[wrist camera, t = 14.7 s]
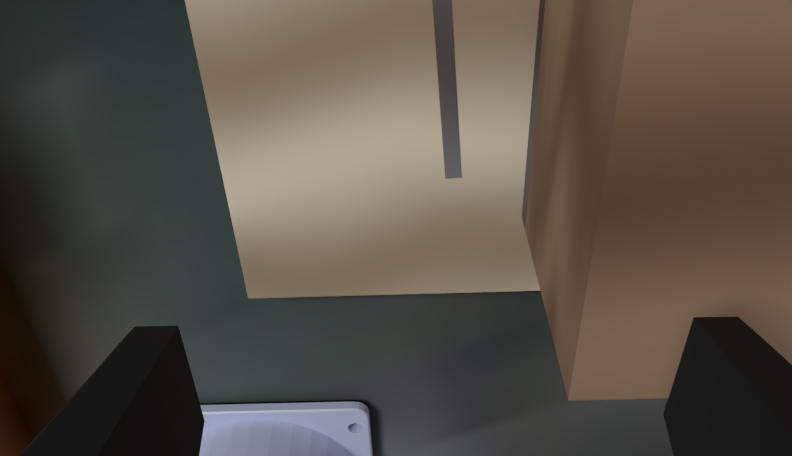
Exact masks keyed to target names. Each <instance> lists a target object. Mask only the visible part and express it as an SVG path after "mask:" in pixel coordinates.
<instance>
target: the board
mask: <svg viewBox="0 0 792 456" xmlns="http://www.w3.org/2000/svg"><path fill="white" fill-rule="evenodd" d="M185 4H186V8H187V13H188V18H189V22H190V27H191V32H192V36H193V41H194V46H195V51H196V55H197V60H198V65H199V69H200V74H201V79H202V83H203V88H204V93H205V97H206V102H207V107H208V112H209V116H210V121H211V126H212V130H213V135H214V140H215V144H216V149H217V154H218V159H219V163H220V168H221V173H222V177H223V182H224V187H225V191H226V196H227V201H228V205H229V210H230V215H231V220H232V224H233V229H234V234H235V238H236V243H237V248H238V252H239V257H240V262H241V266H242V271H243V276H244V281H245V285H246V290H247V295H248V298H281V297H319V296H357V295H395V294H433V293H471V292H509V291H540V287H539V283H538V279H537V275H536V271H535V267H534V263H533V259H532V256H531V252H530V248H529V244H528V240H527V236H526V232H525V228H524V224H523V220H522V207H523V195H524V183H525V171H526V160H527V148H528V136H529V124H530V112H531V100H532V88H533V76H534V64H535V52H536V40H537V28H538V16H539V4H540V0H185Z"/></svg>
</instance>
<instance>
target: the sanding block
mask: <svg viewBox="0 0 792 456" xmlns="http://www.w3.org/2000/svg"><path fill="white" fill-rule="evenodd" d="M522 220H523V224H524V228H525V232H526V236H527V240H528V244H529V248H530V252H531V256H532V259H533V263H534V267H535V271H536V275H537V279H538V283H539V287H540V291H541V295H542V299H543V303H544V307H545V311H546V315H547V319H548V323H549V327H550V331H551V335H552V339H553V342H554V346H555V350H556V354H557V358H558V362H559V366H560V370H561V374H562V378H563V382H564V386H565V390H566V394H567V398H568V401H576V400H615V399H653V398H669V395H670V392H671V388H672V385H673V382H674V379H675V376H676V372H677V369H678V366H679V363H680V360H681V356H682V353H683V350H684V347H685V344H686V340H687V337H688V334H689V331H690V328H691V324H692V321H693V318H694V317H739V318H740V319H741V320H742V321H744V322H745V323H746V324H747V325H748V326H749V327H750V328H752V329H753V330H754V331H755V332H756V333H757V334H758V335H759V336H761V337H762V338H763V339H764V340H765V341H766V342H767V343H768V344H769V345H771V346H772V347H773V348H774V349H775V350H776V351H777V352H778V353H779V354H780V355H782V356H783V357H784V358H785V359H786V360H787V361H788V362H789V363H790V364H791V365H792V0H540V4H539V16H538V28H537V40H536V52H535V64H534V76H533V88H532V100H531V112H530V124H529V136H528V148H527V160H526V171H525V183H524V195H523V207H522Z"/></svg>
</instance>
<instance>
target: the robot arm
mask: <svg viewBox="0 0 792 456" xmlns="http://www.w3.org/2000/svg"><path fill="white" fill-rule="evenodd" d="M664 418H665V422H666V426H667V430H668V434H669V438H670V442H671V446H672V450H673V454H674V456H792V365H791V364H790V363H789V362H788V361H787V360H786V359H785V358H784V357H783V356H782V355H780V354H779V353H778V352H777V351H776V350H775V349H774V348H773V347H772V346H771V345H769V344H768V343H767V342H766V341H765V340H764V339H763V338H762V337H761V336H759V335H758V334H757V333H756V332H755V331H754V330H753V329H752V328H750V327H749V326H748V325H747V324H746V323H745V322H744V321H742V320H741V319H740V318H739V317H694V318H693V321H692V324H691V328H690V331H689V334H688V337H687V340H686V344H685V347H684V350H683V353H682V356H681V360H680V363H679V366H678V369H677V372H676V376H675V379H674V382H673V385H672V388H671V392H670V395H669V398H668V401H667V404H666V408H665V411H664ZM354 423H356V424H354ZM19 456H373V450H372V439H371V427H370V416H369V409H368V407H367V406H366V405H365V404H363V403H361V402H355V401H347V402H305V403H262V404H219V405H200V403H199V399H198V396H197V392H196V388H195V385H194V381H193V378H192V374H191V371H190V367H189V363H188V360H187V356H186V353H185V349H184V345H183V342H182V338H181V335H180V331H179V327H178V326H148V327H134V328H133V329H132V330H131V331H130V332H129V333H128V334H127V336H126V337H125V338H124V339H123V340H122V341H121V342H120V343H119V344H118V346H117V347H116V348H115V349H114V350H113V351H112V352H111V354H110V355H109V356H108V357H107V358H106V359H105V360H104V362H103V363H102V364H101V365H100V366H99V367H98V368H97V370H96V371H95V372H94V373H93V374H92V375H91V376H90V378H89V379H88V380H87V381H86V382H85V383H84V384H83V385H82V387H81V388H80V389H79V390H78V391H77V392H76V393H75V395H74V396H73V397H72V398H71V399H70V400H69V401H68V402H67V404H66V405H65V406H64V407H63V408H62V409H61V410H60V411H59V412H58V413H57V415H56V416H55V417H54V418H53V419H52V420H51V421H50V422H49V423H48V424H47V425H46V426H45V428H44V429H43V430H42V431H41V432H40V433H39V434H38V435H37V436H36V437H35V438H34V440H33V441H32V442H31V443H30V444H29V445H28V446H27V447H26V448H25V449H24V450H23V451H22V453H21V454H20V455H19Z"/></svg>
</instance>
